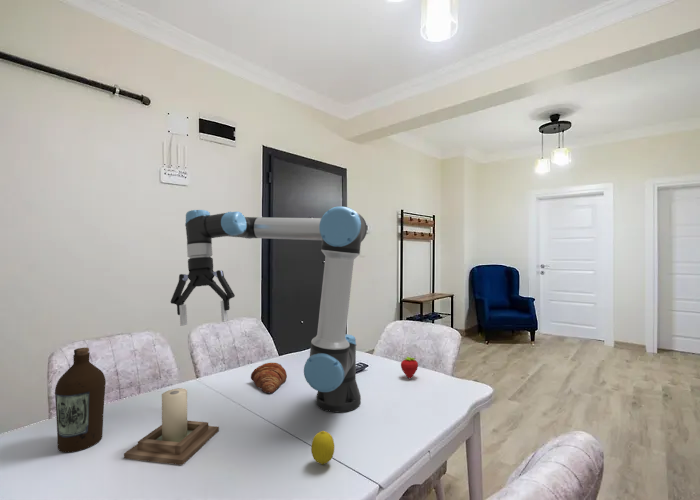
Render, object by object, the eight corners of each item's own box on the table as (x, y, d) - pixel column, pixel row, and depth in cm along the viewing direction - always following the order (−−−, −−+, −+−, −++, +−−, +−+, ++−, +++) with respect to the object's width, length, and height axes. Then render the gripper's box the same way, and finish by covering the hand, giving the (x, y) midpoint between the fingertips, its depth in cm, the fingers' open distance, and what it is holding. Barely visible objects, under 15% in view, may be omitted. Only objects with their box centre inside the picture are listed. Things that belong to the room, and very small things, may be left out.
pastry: (299, 382, 135) (299, 362, 135) (269, 395, 122) (269, 373, 122) (270, 373, 144) (270, 354, 144) (239, 385, 132) (239, 364, 132)
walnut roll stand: (218, 430, 98) (218, 419, 98) (182, 465, 82) (182, 451, 82) (168, 426, 100) (168, 415, 100) (123, 458, 84) (123, 445, 84)
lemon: (311, 458, 85) (311, 425, 85) (333, 457, 85) (334, 424, 85) (310, 472, 79) (311, 437, 79) (334, 471, 80) (334, 436, 80)
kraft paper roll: (192, 433, 93) (191, 388, 94) (177, 445, 88) (177, 397, 88) (172, 431, 95) (172, 387, 95) (156, 443, 89) (156, 396, 89)
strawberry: (397, 377, 140) (397, 353, 140) (412, 374, 143) (412, 350, 143) (406, 382, 135) (406, 356, 135) (421, 379, 138) (421, 354, 138)
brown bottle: (69, 434, 95) (70, 344, 95) (112, 430, 98) (112, 342, 98) (44, 457, 85) (45, 356, 85) (93, 451, 87) (94, 353, 87)
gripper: (241, 254, 115) (246, 318, 113) (170, 262, 116) (173, 325, 115) (232, 252, 108) (237, 320, 106) (156, 261, 109) (159, 328, 107)
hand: (204, 323), depth 110 cm, fingers open, 13 cm apart
